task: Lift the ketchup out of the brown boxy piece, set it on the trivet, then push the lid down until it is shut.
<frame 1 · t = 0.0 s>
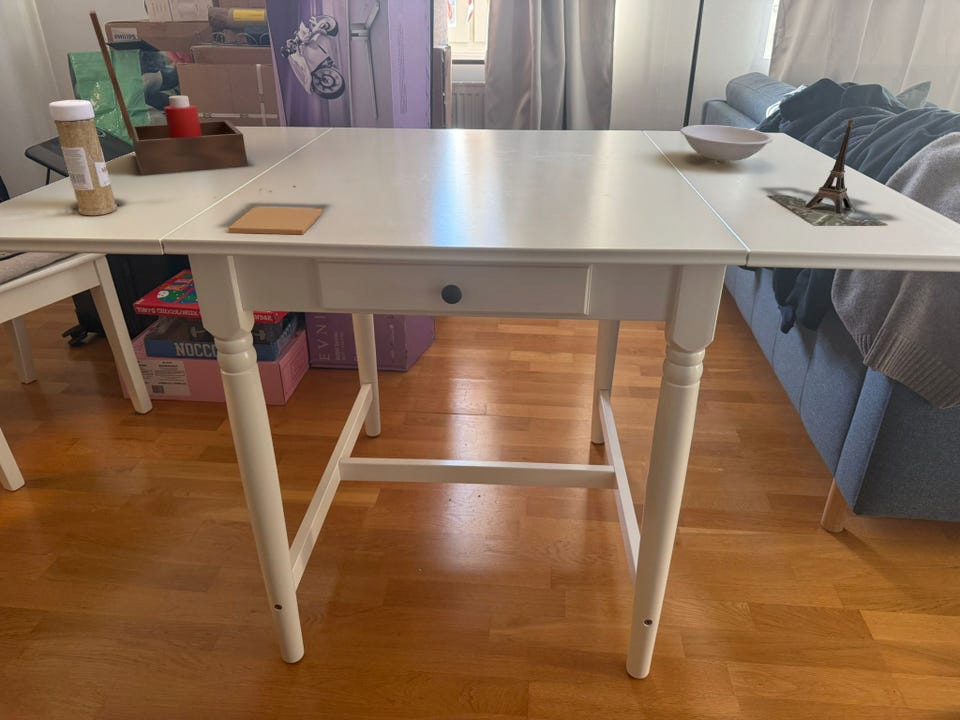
brown boxy piece: (191, 166, 110), on the table
dish: (720, 164, 117), on the table
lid: (112, 73, 100), point 14 cm above the table, hinge at 95.0°
trivet: (277, 222, 84), on the table
ketchup: (190, 161, 110), point 1 cm above the table, touching brown boxy piece
eiffel tower figurine: (822, 214, 92), on the table
sprinkles bottle: (98, 213, 87), on the table
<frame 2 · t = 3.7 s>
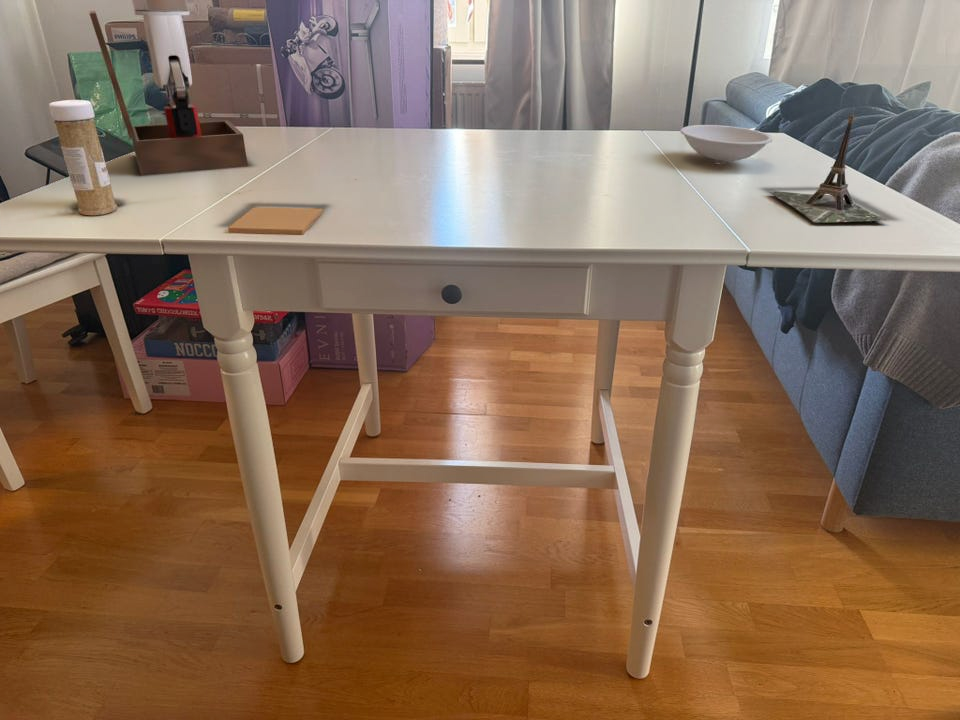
hand: (184, 131, 108), 6 cm above the table, tool pointing down, fingers closed on ketchup, 4 cm apart
ketchup: (190, 161, 110), point 1 cm above the table, touching gripper, brown boxy piece
everything else where it was.
when the fingers open (5 cm above the table, at t = 12.9 s): ketchup stays where it is, resting on trivet.
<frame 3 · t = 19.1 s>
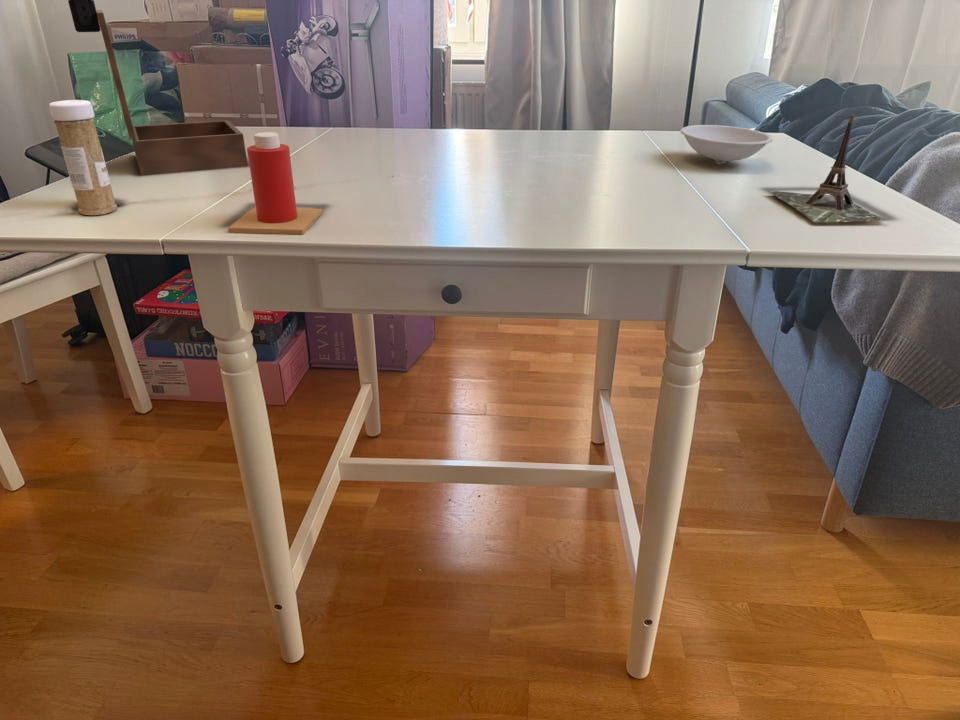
hand: (88, 31, 97), 20 cm above the table, tool pointing down, fingers closed
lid: (115, 73, 100), point 14 cm above the table, hinge at 91.8°
ketchup: (277, 217, 84), point 1 cm above the table, touching trivet
everything else where it was.
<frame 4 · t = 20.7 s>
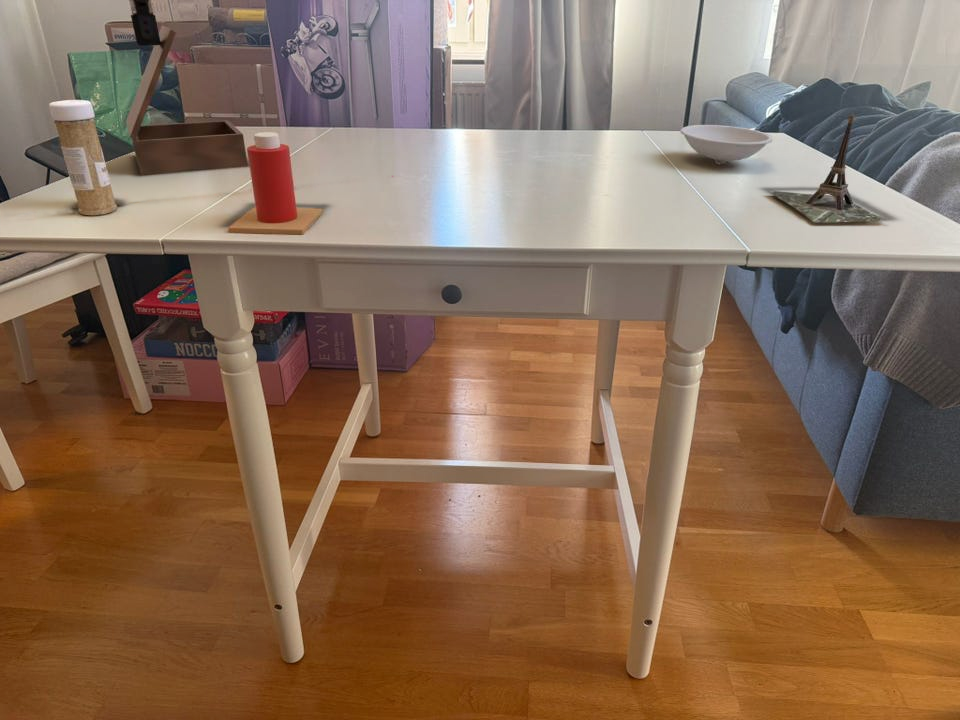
hand: (149, 44, 101), 18 cm above the table, tool pointing down, fingers closed
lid: (149, 80, 103), point 13 cm above the table, hinge at 59.6°, touching gripper
everything else where it was.
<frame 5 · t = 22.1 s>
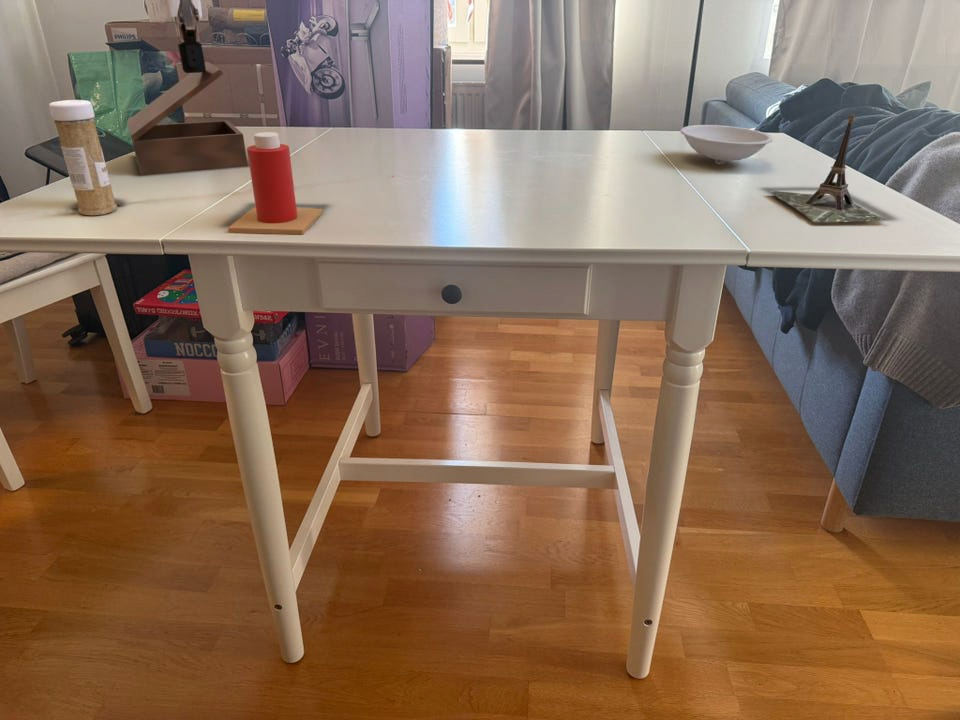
hand: (194, 71, 105), 14 cm above the table, tool pointing down, fingers closed
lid: (172, 98, 105), point 11 cm above the table, hinge at 31.8°, touching gripper
everything else where it was.
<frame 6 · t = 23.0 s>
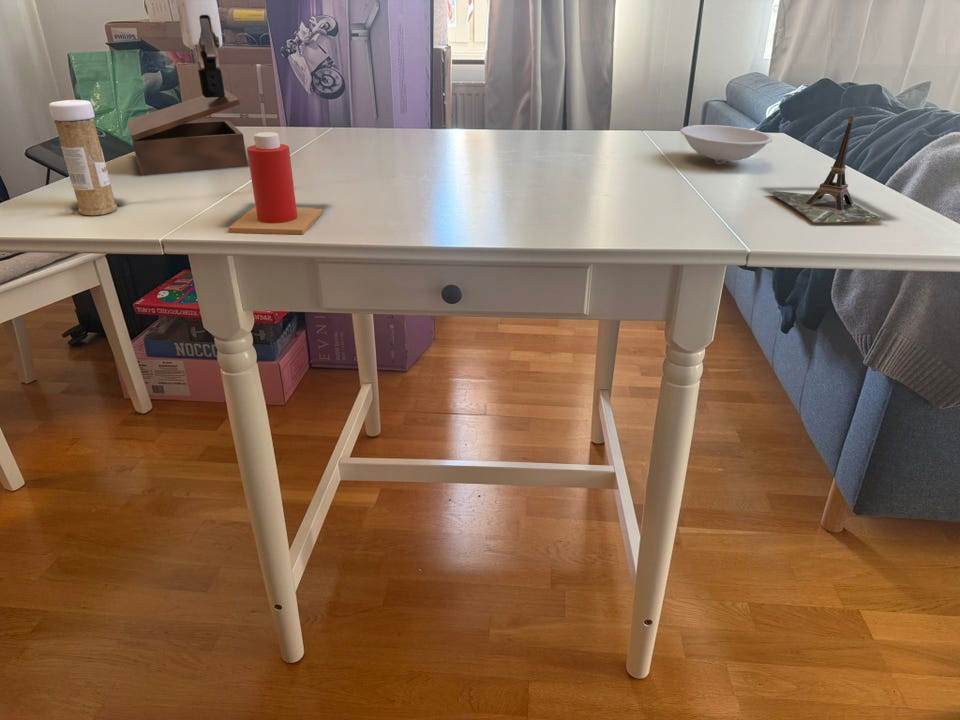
hand: (213, 96, 108), 11 cm above the table, tool pointing down, fingers closed
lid: (182, 112, 106), point 8 cm above the table, hinge at 15.2°, touching gripper
everything else where it was.
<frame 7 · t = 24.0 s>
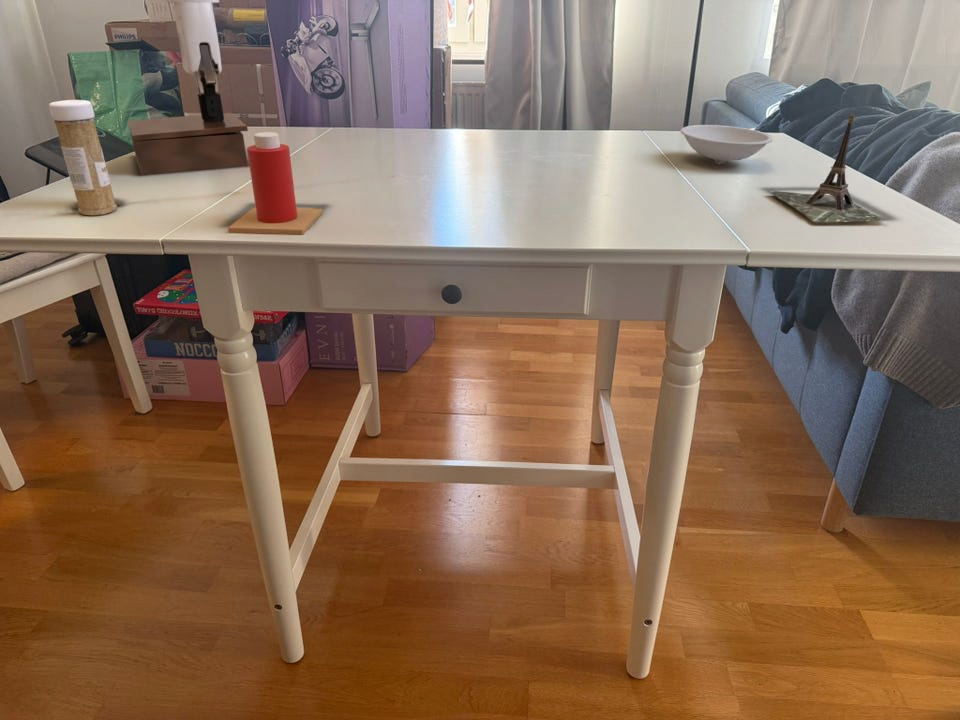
hand: (213, 120, 109), 7 cm above the table, tool pointing down, fingers closed
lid: (186, 125, 107), point 6 cm above the table, hinge at 1.2°, touching gripper
everything else where it was.
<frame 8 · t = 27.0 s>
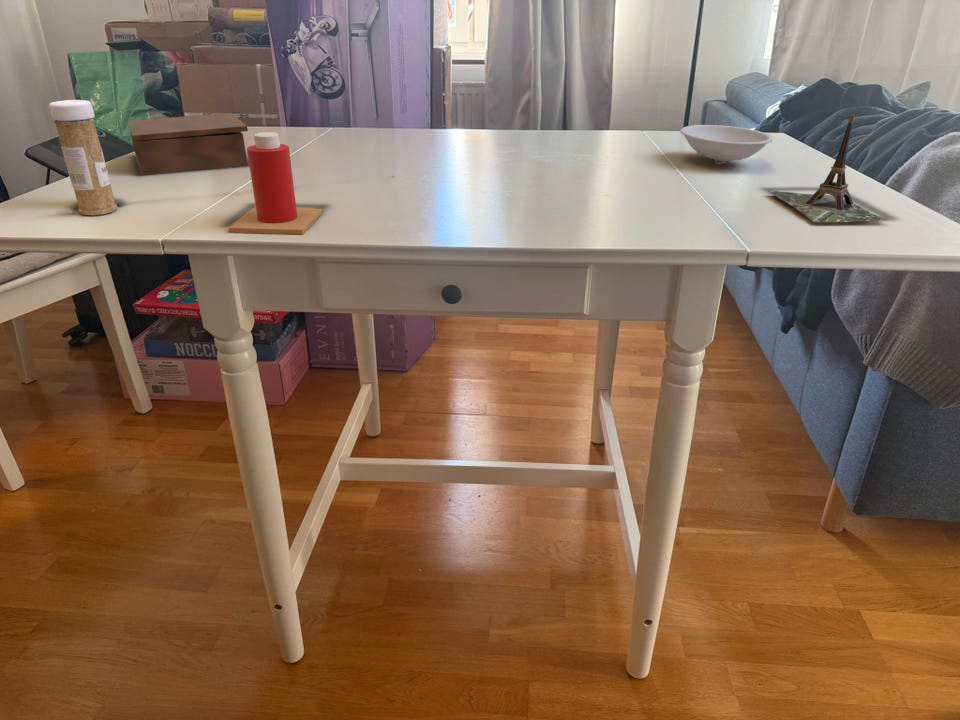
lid: (186, 125, 107), point 6 cm above the table, hinge at 1.1°
everything else where it was.
at the end: ketchup inside the target area on the trivet (0.1 cm from its centre), point 0.6 cm above the trivet's base; ketchup tilted 0°; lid at +1° (first picture: +95°) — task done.
